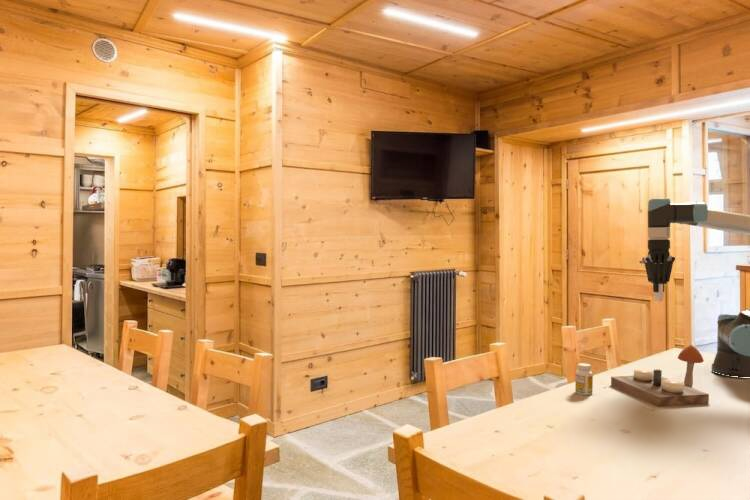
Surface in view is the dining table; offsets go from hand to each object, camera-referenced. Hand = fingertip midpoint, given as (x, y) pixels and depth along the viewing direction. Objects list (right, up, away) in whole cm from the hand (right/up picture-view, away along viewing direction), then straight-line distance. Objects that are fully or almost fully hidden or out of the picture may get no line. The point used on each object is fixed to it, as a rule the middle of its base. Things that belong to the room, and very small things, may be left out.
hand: (658, 300), depth 203 cm
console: (-13, -29, -23) cm, 40 cm away
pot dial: (-13, -26, -24) cm, 38 cm away
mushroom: (+3, -29, -15) cm, 33 cm away
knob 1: (-14, -29, -17) cm, 36 cm away
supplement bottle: (-38, -29, -23) cm, 53 cm away
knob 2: (-12, -29, -30) cm, 44 cm away
